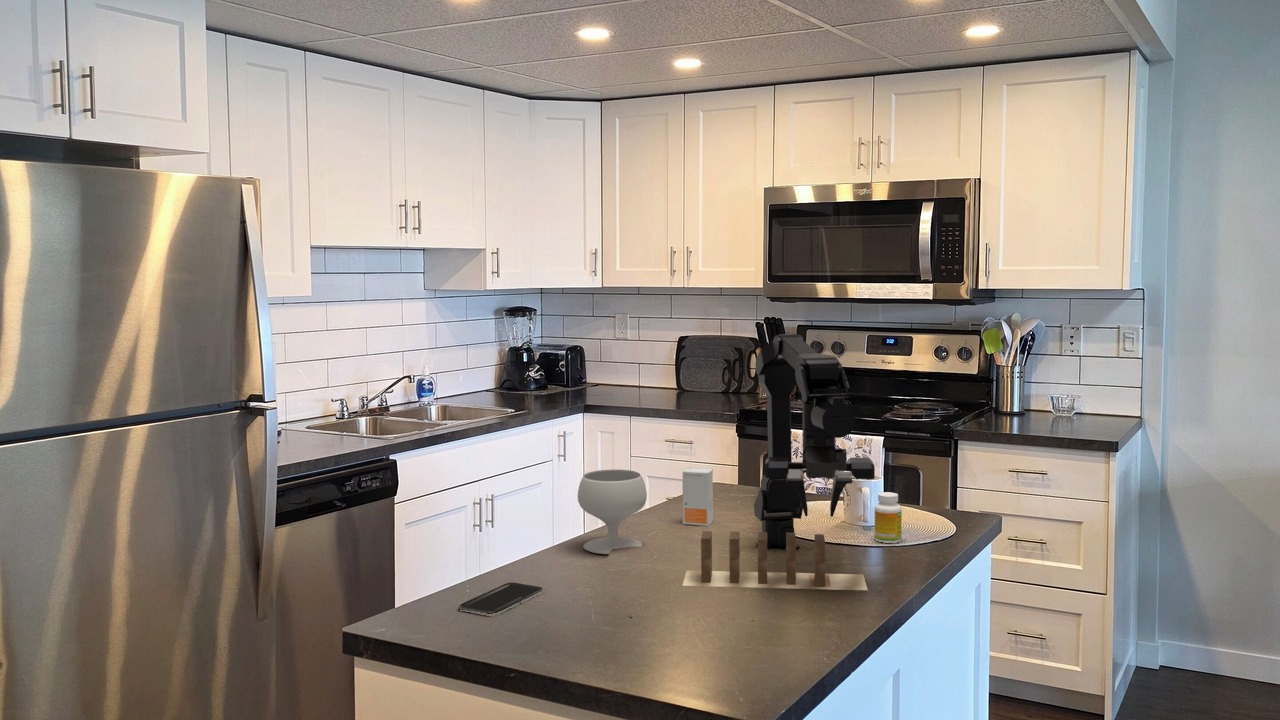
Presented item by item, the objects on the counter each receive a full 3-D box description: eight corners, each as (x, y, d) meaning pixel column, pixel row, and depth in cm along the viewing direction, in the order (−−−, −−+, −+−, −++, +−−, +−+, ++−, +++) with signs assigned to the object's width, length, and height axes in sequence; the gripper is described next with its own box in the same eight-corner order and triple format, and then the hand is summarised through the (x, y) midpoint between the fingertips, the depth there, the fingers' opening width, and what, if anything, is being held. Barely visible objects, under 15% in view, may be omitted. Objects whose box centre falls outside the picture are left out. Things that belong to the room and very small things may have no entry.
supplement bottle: (901, 544, 213) (902, 497, 212) (874, 543, 214) (874, 496, 213) (900, 537, 218) (901, 491, 217) (874, 536, 219) (874, 490, 218)
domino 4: (786, 584, 185) (786, 540, 184) (786, 576, 190) (786, 532, 189) (795, 584, 185) (795, 540, 184) (795, 576, 190) (795, 532, 189)
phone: (455, 606, 177) (509, 581, 190) (456, 612, 177) (510, 587, 190) (493, 613, 173) (545, 587, 186) (493, 620, 173) (545, 593, 186)
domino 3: (758, 583, 186) (757, 539, 185) (758, 575, 191) (758, 532, 190) (767, 584, 185) (767, 539, 185) (767, 575, 190) (767, 532, 190)
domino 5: (815, 586, 184) (815, 541, 183) (814, 577, 189) (814, 534, 188) (824, 586, 183) (825, 541, 183) (823, 578, 188) (823, 534, 188)
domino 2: (729, 583, 186) (729, 538, 186) (730, 574, 191) (730, 531, 190) (738, 583, 186) (738, 539, 185) (739, 574, 191) (739, 531, 190)
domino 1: (701, 582, 187) (700, 538, 186) (703, 574, 192) (702, 531, 191) (710, 582, 187) (710, 538, 186) (712, 574, 192) (711, 531, 191)
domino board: (682, 591, 185) (682, 585, 185) (686, 575, 194) (686, 570, 194) (867, 595, 181) (867, 590, 181) (863, 579, 190) (863, 574, 190)
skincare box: (682, 525, 231) (681, 471, 230) (687, 520, 235) (686, 467, 234) (709, 526, 229) (708, 472, 228) (713, 521, 233) (713, 468, 232)
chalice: (629, 535, 223) (627, 465, 222) (659, 551, 211) (658, 477, 209) (568, 544, 217) (566, 472, 216) (595, 561, 205) (594, 485, 203)
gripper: (764, 435, 177) (765, 526, 179) (878, 436, 175) (877, 528, 176) (765, 425, 188) (765, 511, 190) (871, 426, 186) (871, 512, 187)
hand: (818, 516), depth 186 cm, fingers open, 4 cm apart
